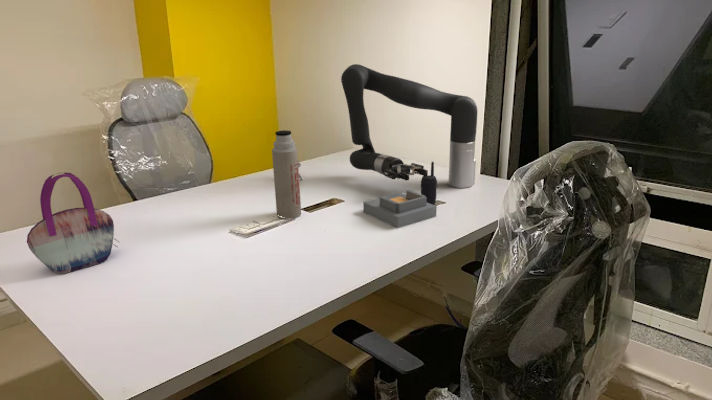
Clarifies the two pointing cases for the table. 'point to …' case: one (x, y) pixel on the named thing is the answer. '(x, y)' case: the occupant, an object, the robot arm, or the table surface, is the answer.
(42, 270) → the table surface
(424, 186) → the two-way radio
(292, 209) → the thermos bottle
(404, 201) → the tray
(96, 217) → the handbag
